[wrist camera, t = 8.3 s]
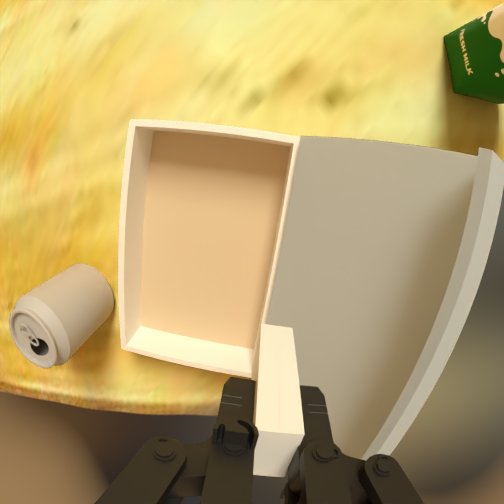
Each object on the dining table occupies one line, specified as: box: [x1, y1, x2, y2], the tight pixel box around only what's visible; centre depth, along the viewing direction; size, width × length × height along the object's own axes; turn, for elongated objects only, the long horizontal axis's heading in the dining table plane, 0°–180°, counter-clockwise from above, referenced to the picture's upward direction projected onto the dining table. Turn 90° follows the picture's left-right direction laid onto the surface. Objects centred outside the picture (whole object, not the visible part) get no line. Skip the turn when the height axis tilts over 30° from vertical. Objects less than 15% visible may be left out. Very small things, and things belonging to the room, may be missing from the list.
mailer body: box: [118, 119, 300, 378], centre depth 27 cm, size 14×22×5 cm, turn 171°
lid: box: [266, 136, 504, 461], centre depth 18 cm, size 15×22×2 cm
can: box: [9, 263, 114, 368], centre depth 27 cm, size 8×8×12 cm
